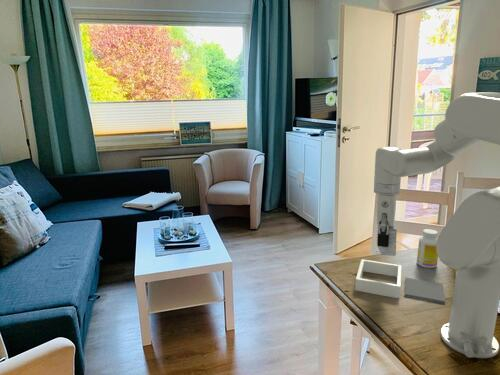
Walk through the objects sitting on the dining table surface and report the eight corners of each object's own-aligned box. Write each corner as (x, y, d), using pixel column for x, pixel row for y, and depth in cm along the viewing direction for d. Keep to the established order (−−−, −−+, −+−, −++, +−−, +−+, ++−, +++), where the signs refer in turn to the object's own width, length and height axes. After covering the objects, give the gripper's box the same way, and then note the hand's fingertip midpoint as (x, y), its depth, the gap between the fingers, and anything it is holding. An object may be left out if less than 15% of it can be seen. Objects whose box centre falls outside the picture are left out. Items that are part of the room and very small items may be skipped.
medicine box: (395, 256, 111) (397, 229, 110) (380, 255, 112) (381, 228, 110) (390, 246, 119) (392, 221, 117) (376, 246, 120) (377, 221, 118)
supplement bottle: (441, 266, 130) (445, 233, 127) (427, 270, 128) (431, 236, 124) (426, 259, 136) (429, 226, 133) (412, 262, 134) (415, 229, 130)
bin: (399, 298, 111) (400, 286, 110) (355, 290, 116) (355, 278, 115) (400, 276, 124) (401, 265, 123) (360, 269, 129) (361, 259, 128)
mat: (445, 303, 108) (445, 301, 107) (404, 296, 112) (404, 293, 112) (442, 285, 117) (442, 283, 117) (405, 279, 122) (405, 277, 121)
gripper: (399, 195, 102) (395, 253, 106) (400, 182, 118) (397, 233, 122) (371, 193, 105) (368, 249, 109) (376, 181, 121) (373, 230, 125)
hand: (383, 240), depth 115 cm, fingers closed on medicine box, 8 cm apart
